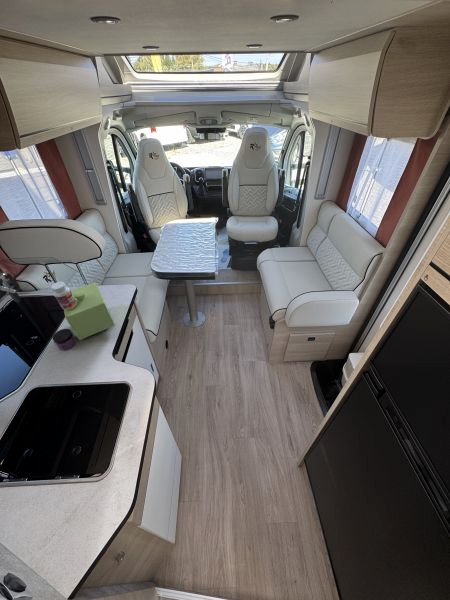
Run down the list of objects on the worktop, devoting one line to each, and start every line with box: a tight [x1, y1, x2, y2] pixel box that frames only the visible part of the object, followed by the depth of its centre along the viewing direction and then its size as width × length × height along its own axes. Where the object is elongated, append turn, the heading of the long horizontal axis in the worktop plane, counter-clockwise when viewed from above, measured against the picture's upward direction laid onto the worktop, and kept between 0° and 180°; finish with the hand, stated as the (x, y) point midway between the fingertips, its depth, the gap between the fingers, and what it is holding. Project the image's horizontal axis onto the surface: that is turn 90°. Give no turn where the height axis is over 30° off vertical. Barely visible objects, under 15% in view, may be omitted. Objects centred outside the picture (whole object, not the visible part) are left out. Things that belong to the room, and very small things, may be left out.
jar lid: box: [52, 328, 73, 344], centre depth 115 cm, size 8×8×1 cm
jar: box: [53, 332, 78, 351], centre depth 117 cm, size 8×8×6 cm
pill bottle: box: [50, 281, 77, 310], centre depth 108 cm, size 6×6×11 cm
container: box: [63, 282, 116, 341], centre depth 121 cm, size 19×16×20 cm
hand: (6, 309), depth 83 cm, fingers open, 8 cm apart
